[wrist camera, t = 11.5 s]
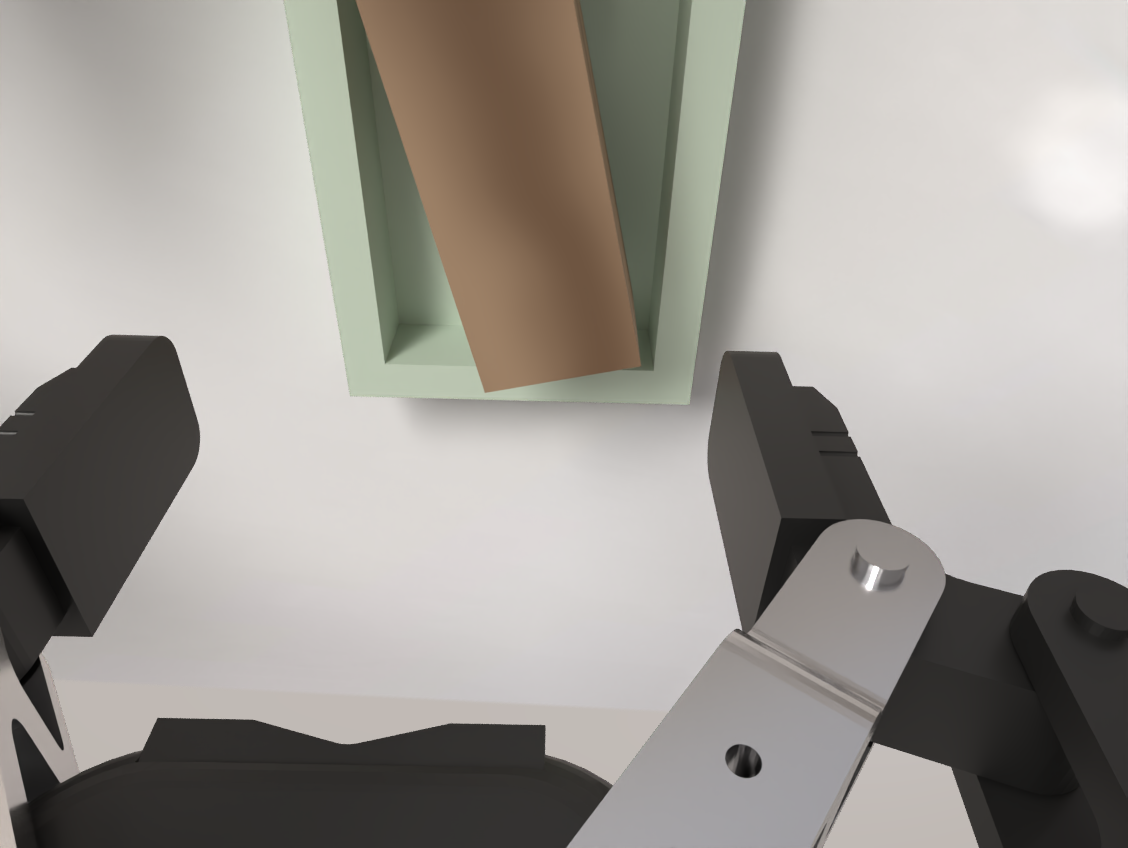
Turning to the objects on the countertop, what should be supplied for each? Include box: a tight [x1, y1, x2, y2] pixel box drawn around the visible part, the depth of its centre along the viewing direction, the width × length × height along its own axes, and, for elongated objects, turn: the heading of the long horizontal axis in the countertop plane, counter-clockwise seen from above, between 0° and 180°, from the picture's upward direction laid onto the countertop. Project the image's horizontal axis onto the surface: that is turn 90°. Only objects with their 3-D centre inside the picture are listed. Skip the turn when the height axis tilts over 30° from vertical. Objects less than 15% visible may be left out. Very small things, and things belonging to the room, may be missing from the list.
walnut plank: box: [356, 0, 641, 393], centre depth 23 cm, size 5×15×5 cm, turn 12°
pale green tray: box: [284, 0, 746, 405], centre depth 26 cm, size 13×22×4 cm, turn 179°
